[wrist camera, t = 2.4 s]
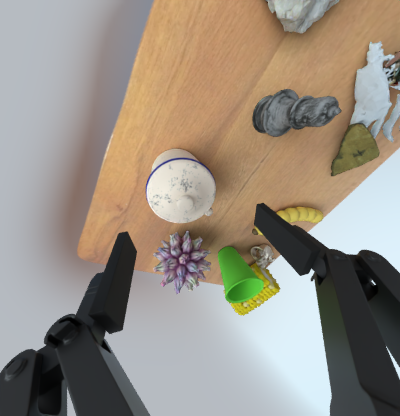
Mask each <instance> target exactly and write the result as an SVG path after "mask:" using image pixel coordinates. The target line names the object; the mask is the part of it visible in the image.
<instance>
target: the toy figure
mask: <svg viewBox="0 0 400 416" xmlns="http://www.w3.org/2000/svg"><path fill="white" fill-rule="evenodd" d="M395 54H396V55H395V58H393V59H391V60H389V61H388V62H389V63H388V62H387V63H388V64H386V65H385V66H386V67H391V66H392V65H393V64H395V68H394V69H393V70H394V71H393V72H391V73H390V75H392V74H393V75H392V76H390V77H388V78H387V79H388V81H391V82H390V83H389V85H390V84H398V82H400V60H399V59H400V51H399V52H395ZM397 68H398V70H397V71H396V69H397ZM387 73H389V71H388V72H387ZM387 73H386V74H387Z"/></svg>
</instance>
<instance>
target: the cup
mask: <svg viewBox="0 0 400 416" xmlns="http://www.w3.org/2000/svg"><path fill="white" fill-rule="evenodd" d="M218 260H219V264H220V269H221V274H222V278H223V283H224V287H225V292H226V294H225V298H226V300H227V301H228V302H230V303H241V302H245V301H247V300H249V299H251V298H253V297H255V296H256V295H257V294H259V293H260V292H261V290H262V289H263V287H264V282H263V280H262V279H260V278H258V276H257V275H256V274H255V273H254V272H253V270H252V269H251V268H250V267H249V266H248V264H247V263H246V262H245V261H244V259H243V258H242V257H241V256H240V255H239V253H238V252H237V251H236V250H235V249H234V248H233V247H224V248H223V249H221V250H220V251H219V253H218Z"/></svg>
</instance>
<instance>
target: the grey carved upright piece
mask: <svg viewBox="0 0 400 416" xmlns="http://www.w3.org/2000/svg"><path fill="white" fill-rule="evenodd" d="M338 106H339V104H338V101H337V99H336V98H335V97H331V96H327V97H320V98H313V97H312V96H303V97H302V98H300V99H299V98H298V95H297V94H296V93H295V92H294V91H293V90H291V89H284V90H281V91H279V92H277V93H276V94H275V95H274V96H271V95H270V96H266V97H264V98H263V99H261V100H260V101H259V102H258V104H257V105H256V107H255V109H254V112H253V125H254V127H255V129H256V130H257V131H258V132H260V133H268V134H269V135H271V136H275V137H278V136H281V135H283V134H285V133H287V132H288V131H289V130H290V129H291V128H293V129H298V130H299V129H302V128H304V127H305V126H308V127H320V126H324V125H326V124H327V123H329V122H330V121H331V120H332V119H333V118H334V117H335V116H336V115H338V114H339V113H340V112H341V109H340V108H339V107H338Z"/></svg>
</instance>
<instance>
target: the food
mask: <svg viewBox="0 0 400 416" xmlns="http://www.w3.org/2000/svg"><path fill="white" fill-rule="evenodd" d="M250 268H251V269H252V270H253V272H254V273H255V274H256V275H257V276H258V278H260V279H262V280H263V282H264V287H263V289H262V290H261V292H260V293H259V294H257V295H256V296H255V297H253V298H251V299H249V300H247V301H245V302H241V303H231V306H232V307H233V308H235V312H236V313H238V314H239V315H245V314H248V312H250V311H251V310H254V308H257V306H258V307H259V306H260V305H261V304H263V303H264V301H267V300H268V299H269V298H271V297H272V296H273V295H275V294H276V293H278V292H279V289H280V287H279V285H278V284H277V283H276V279H274V278H273V277H272V275H271V274H270V273H269V270H268V269H266V268H264V269H261V268H259V267H258V265H257V263H256V262H255V263H254V264H253V265H251V266H250ZM224 293H225V294H226V292H225V290H224ZM229 303H230V302H229Z"/></svg>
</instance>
